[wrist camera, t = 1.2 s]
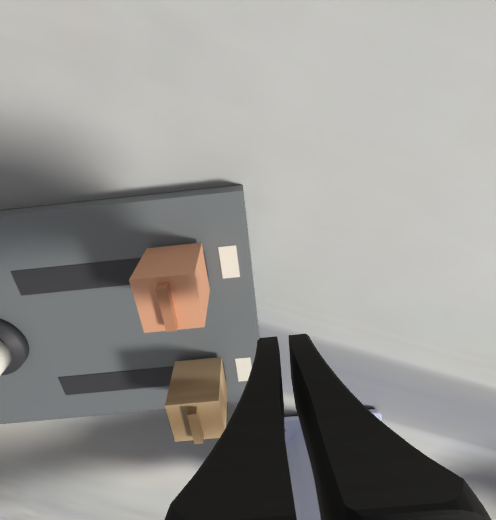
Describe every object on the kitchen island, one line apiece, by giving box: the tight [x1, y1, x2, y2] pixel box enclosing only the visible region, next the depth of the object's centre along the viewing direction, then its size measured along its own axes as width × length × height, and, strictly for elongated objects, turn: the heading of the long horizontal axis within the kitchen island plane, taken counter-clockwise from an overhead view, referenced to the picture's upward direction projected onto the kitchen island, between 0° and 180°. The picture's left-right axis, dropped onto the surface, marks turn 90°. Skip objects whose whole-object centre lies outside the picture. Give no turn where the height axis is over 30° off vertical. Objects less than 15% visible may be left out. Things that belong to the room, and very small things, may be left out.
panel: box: [0, 185, 259, 424], centre depth 22 cm, size 15×19×2 cm
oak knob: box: [165, 357, 228, 444], centre depth 22 cm, size 3×3×4 cm
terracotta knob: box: [129, 243, 210, 333], centre depth 18 cm, size 3×3×4 cm
